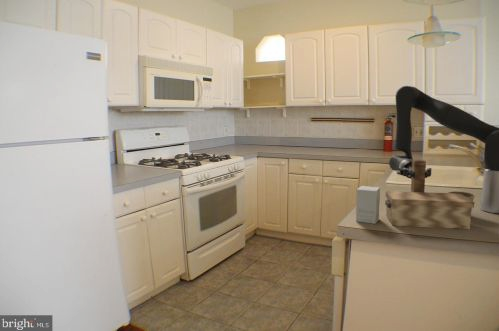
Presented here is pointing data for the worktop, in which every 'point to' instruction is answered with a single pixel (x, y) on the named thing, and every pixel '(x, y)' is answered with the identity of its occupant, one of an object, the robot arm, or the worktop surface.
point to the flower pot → (465, 194)
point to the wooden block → (418, 176)
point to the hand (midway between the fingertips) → (420, 175)
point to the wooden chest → (428, 209)
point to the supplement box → (367, 204)
